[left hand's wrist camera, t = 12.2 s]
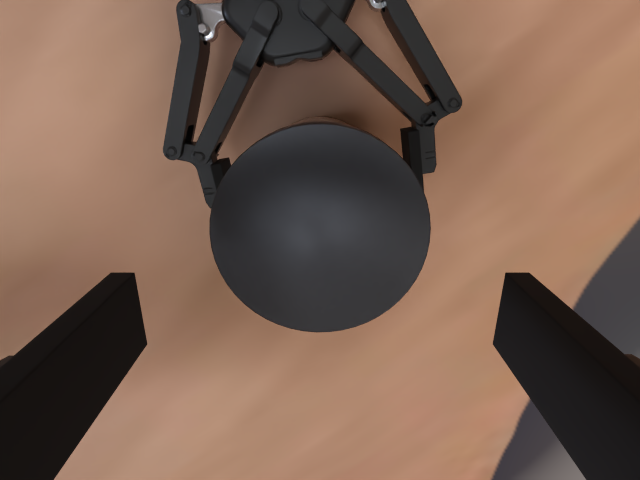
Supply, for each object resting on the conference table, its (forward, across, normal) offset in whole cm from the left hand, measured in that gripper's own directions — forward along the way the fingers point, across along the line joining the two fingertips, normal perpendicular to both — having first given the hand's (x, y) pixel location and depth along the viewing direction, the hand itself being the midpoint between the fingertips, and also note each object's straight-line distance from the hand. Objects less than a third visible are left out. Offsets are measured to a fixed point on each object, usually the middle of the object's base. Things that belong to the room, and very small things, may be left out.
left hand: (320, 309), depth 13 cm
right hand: (+17, +1, -3) cm, 17 cm away
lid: (+7, 0, 0) cm, 7 cm away
